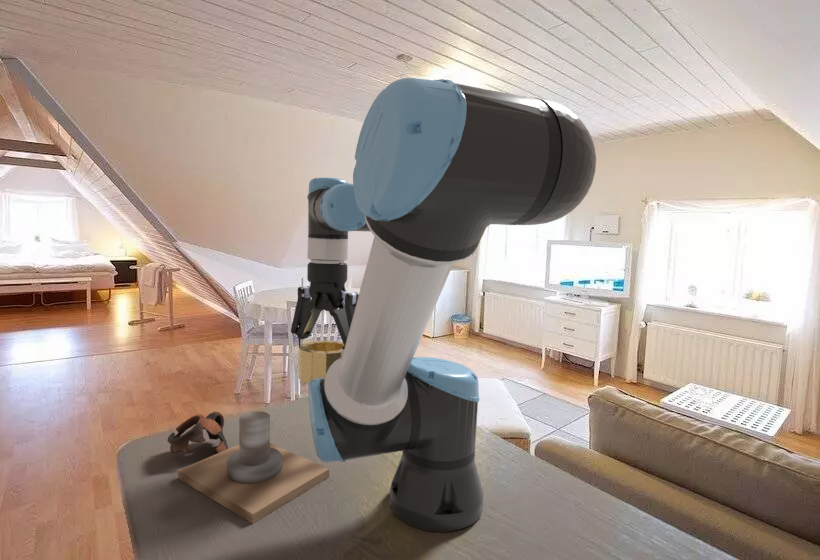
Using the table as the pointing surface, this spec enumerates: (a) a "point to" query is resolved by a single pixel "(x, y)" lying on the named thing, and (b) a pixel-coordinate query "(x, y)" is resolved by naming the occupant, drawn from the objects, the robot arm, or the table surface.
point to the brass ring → (317, 359)
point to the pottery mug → (198, 432)
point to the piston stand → (253, 472)
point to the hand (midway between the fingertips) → (325, 375)
